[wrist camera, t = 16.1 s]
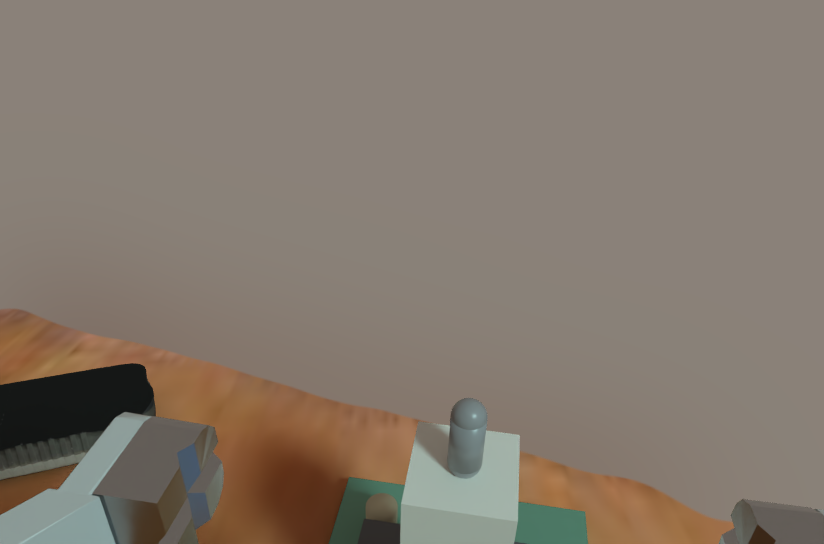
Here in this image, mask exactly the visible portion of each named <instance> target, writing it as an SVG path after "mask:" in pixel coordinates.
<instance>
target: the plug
mask: <svg viewBox="0 0 824 544" xmlns="http://www.w3.org/2000/svg"><path fill="white" fill-rule="evenodd" d="M486 426H487V412H486V409H485V407H484V406H483V404H482V403H481V402H479V401H478V400H476V399H473V398H464V399H462V400H460V401H458V402H457V403H456V404H455V405H454V407H453V409H452V411H451V418H450V426H449V425H441V424H434V423H426V422H418V426H417V431H416V436H415V440H414V445H413V450H412V455H411V459H410V464H409V469H408V473H407V478H406V483H405V488H404V492H403V497H402V502H401V527H400V544H514V541H515V535H516V529H517V524H518V490H519V442H520V441H519V440H520V435H515V434H508V433H501V432H493V431H486Z"/></svg>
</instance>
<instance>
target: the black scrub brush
mask: <svg viewBox="0 0 824 544" xmlns="http://www.w3.org/2000/svg"><path fill="white" fill-rule="evenodd" d="M124 412H128V413H134V414H141V415H147V416H156V411H155V403H154V393H153V388H152V387H151V385H150V383H149V382H148V379H147V375H146V369H145V367H144V366H143V365H140V364H133V363H132V364H123V365H117V366H110V367H104V368H98V369H91V370H86V371H80V372H74V373H68V374H62V375H56V376H50V377H44V378H39V379H33V380H27V381H21V382H15V383H9V384H3V385H0V480H3V479H7V478H12V477H17V476H22V475H27V474H31V473H36V472H41V471H45V470H49V469H54V468H59V467H63V466H69V465H72V464H77V463H79V462H80V461H81V460H82V458H83V457H84V456H85V455H86V453H87V452H88V451H89V450H90V448H91V447H92V446H93V445H94V443H95V442H96V441H97V440H98V438H99V437H100V436H101V435H102V433H103V432H104V431H105V429H106V428H107V427H108V426H109V424H110V423H111V422H112V421H113V419H114V418H115V417H117V416H119V415H120V414H122V413H124Z"/></svg>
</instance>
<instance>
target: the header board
mask: <svg viewBox="0 0 824 544" xmlns="http://www.w3.org/2000/svg"><path fill="white" fill-rule="evenodd" d="M404 488H405V485H400V484H393V483H386V482H379V481H372V480H366V479H359V478H352V477H349V479H348V483H347V486H346V489H345V492H344V496H343V499H342V502H341V505H340V509H339V512H338V515H337V518H336V522H335V525H334V528H333V531H332V535H331V538H330V541H329V544H400V527H401V502H402V497H403V492H404ZM514 544H588V540H587V528H586V517H585V512H584V511H577V510H570V509H563V508H556V507H550V506H543V505H536V504H529V503H522V502H518V524H517V529H516V535H515V541H514Z"/></svg>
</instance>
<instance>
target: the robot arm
mask: <svg viewBox="0 0 824 544" xmlns="http://www.w3.org/2000/svg"><path fill="white" fill-rule="evenodd" d="M217 443H218V440H217V435H216V431H215V427H212V426H209V425H203V424H197V423H191V422H185V421H179V420H173V419H167V418H161V417H155V416H147V415H141V414H134V413H128V412H124V413H122V414H120V415H119V416H117V417H115V418H114V419H113V421H112V422H111V423H110V424H109V426H108V427H107V428H106V429H105V431H104V432H103V433H102V435H101V436H100V437H99V438H98V440H97V441H96V442H95V443H94V445H93V446H92V447H91V448H90V450H89V451H88V452H87V453H86V455H85V456H84V457H83V458H82V460H81V461H80V462H79V463H78V465H77V466H76V467H75V469H74V470H73V471H72V472H71V474H70V475H69V476H68V477H67V479H66V480H65V481H64V482H63V484H62V485H61V486H60V487H59V489H58V490H57V489H47V490H45V491H44V492H42V493H40V494H38V495H36V496H34V497H33V498H31V499H29V500H27V501H25V502H23V503H22V504H20V505H18V506H16V507H14V508H13V509H11V510H9V511H7V512H5V513H3V514H2V515H0V544H198V539H197V535H196V529H197V528H199V527H200V526H202V525H203V524H204V523H206V522H207V521H209V520H210V519H211V518H212V515H213V513H214V511H215V509H216V507H217V505H218V503H219V499H220V495H221V491H222V488H223V475H224V471H223V466H222V461H221V460H220V459H219V458H218V457H217V456H216V455H215V454H214V453H213V450H214V449H215V447H216V445H217ZM731 518H732V521H733V524H734V527H735V528H734V529H732V530H730V531H728V532H726V533H724V534H723V535H722V536H721V539H720V542H719V544H824V510H820V509H812V508H808V507H800V506H792V505H784V504H777V503H769V502H761V501H752V500H746V499H742V500H741V501H739V502H738V503H737V504H736V505H735V507H734V509H733V511H732V514H731Z"/></svg>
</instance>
